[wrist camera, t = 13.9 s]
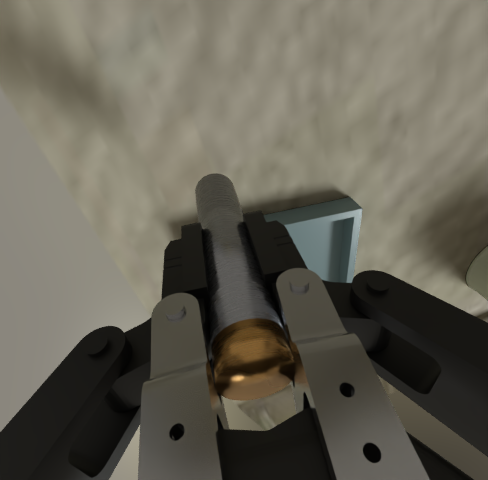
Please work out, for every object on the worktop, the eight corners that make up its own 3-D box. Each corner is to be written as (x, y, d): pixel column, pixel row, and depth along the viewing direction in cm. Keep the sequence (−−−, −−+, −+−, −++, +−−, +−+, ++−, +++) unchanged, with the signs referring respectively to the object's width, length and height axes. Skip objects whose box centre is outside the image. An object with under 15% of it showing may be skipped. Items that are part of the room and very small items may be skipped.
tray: (192, 229, 23) (194, 244, 21) (350, 197, 24) (362, 208, 23) (221, 331, 31) (223, 348, 29) (339, 303, 32) (347, 317, 30)
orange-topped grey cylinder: (191, 178, 14) (207, 367, 6) (230, 169, 14) (295, 345, 6) (200, 212, 15) (223, 407, 8) (236, 204, 16) (297, 388, 8)
